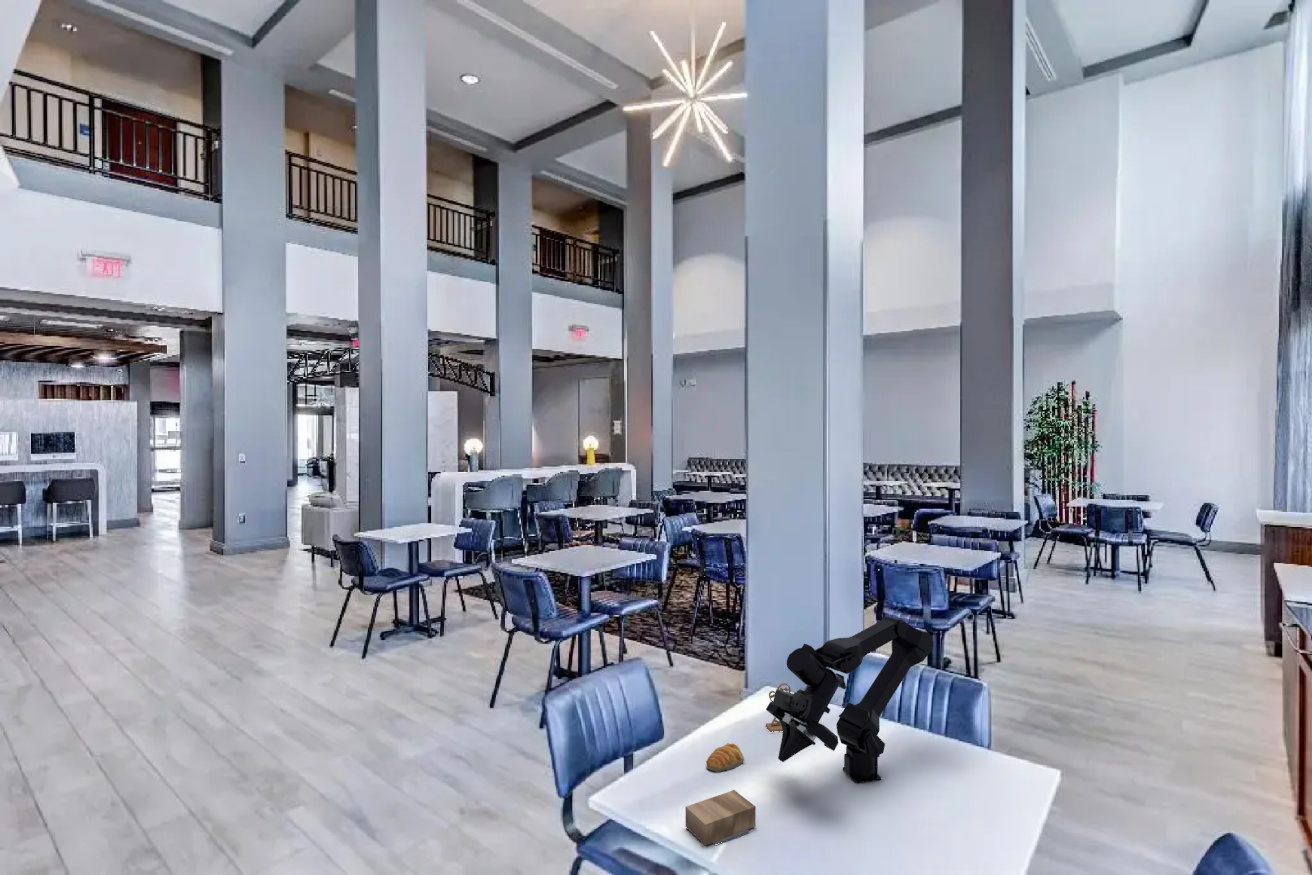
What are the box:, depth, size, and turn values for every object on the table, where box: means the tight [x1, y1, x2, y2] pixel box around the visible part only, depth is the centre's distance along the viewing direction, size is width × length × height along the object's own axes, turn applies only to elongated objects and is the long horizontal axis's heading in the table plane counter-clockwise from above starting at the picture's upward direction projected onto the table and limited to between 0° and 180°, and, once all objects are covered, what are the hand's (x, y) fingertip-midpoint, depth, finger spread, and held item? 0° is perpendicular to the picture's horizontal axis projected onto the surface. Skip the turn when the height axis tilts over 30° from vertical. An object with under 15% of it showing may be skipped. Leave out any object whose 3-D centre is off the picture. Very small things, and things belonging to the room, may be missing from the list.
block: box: [685, 789, 757, 846], centre depth 134 cm, size 4×7×12 cm
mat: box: [712, 829, 750, 845], centre depth 134 cm, size 8×8×1 cm
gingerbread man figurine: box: [765, 682, 792, 732], centre depth 178 cm, size 9×4×12 cm, turn 99°
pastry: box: [705, 743, 745, 773], centre depth 160 cm, size 9×7×4 cm
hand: (780, 760), depth 142 cm, fingers closed
